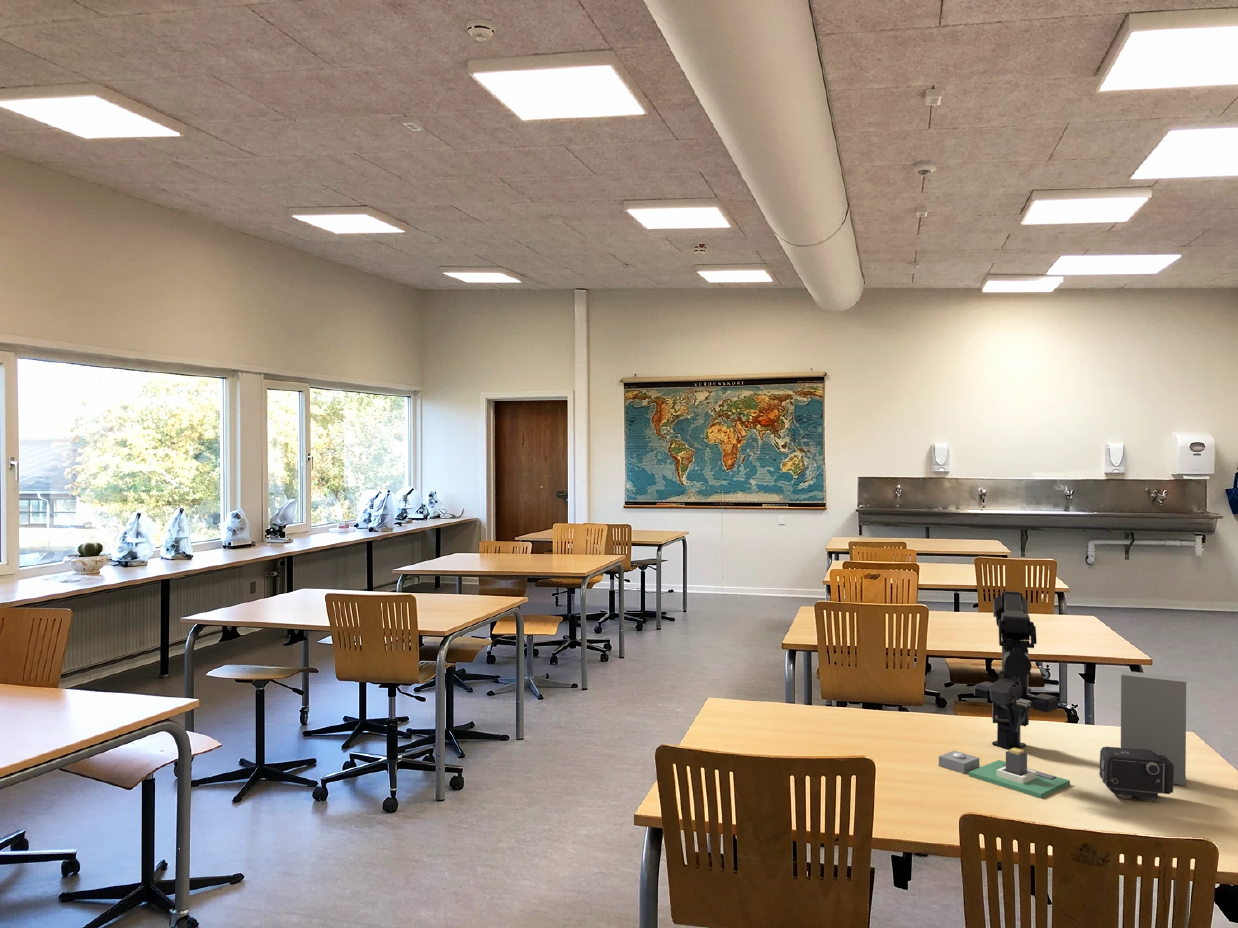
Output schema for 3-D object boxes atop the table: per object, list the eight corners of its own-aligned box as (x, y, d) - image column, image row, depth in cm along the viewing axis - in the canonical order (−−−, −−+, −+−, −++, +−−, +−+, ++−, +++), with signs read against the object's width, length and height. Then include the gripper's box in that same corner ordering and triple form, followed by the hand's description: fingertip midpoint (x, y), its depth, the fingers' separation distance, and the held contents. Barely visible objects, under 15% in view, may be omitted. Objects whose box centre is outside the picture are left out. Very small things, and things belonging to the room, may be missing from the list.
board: (998, 763, 228) (998, 753, 228) (1069, 784, 213) (1069, 774, 213) (968, 775, 219) (968, 765, 219) (1040, 798, 205) (1040, 787, 205)
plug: (1013, 773, 218) (1013, 746, 218) (1027, 777, 215) (1027, 750, 215) (1005, 776, 216) (1005, 749, 216) (1019, 780, 213) (1019, 753, 213)
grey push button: (954, 759, 230) (954, 748, 230) (979, 767, 225) (979, 755, 225) (938, 765, 226) (938, 753, 226) (964, 773, 221) (964, 761, 221)
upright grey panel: (1185, 778, 217) (1186, 676, 217) (1186, 786, 212) (1187, 682, 212) (1120, 768, 224) (1121, 669, 224) (1119, 775, 219) (1120, 674, 219)
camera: (1110, 807, 202) (1181, 807, 199) (1105, 759, 202) (1176, 758, 199) (1097, 790, 212) (1166, 790, 209) (1093, 744, 212) (1161, 743, 209)
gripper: (961, 665, 219) (961, 728, 219) (1036, 680, 204) (1036, 748, 204) (986, 658, 225) (985, 719, 226) (1060, 673, 211) (1059, 738, 211)
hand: (1015, 731), depth 216 cm, fingers closed
